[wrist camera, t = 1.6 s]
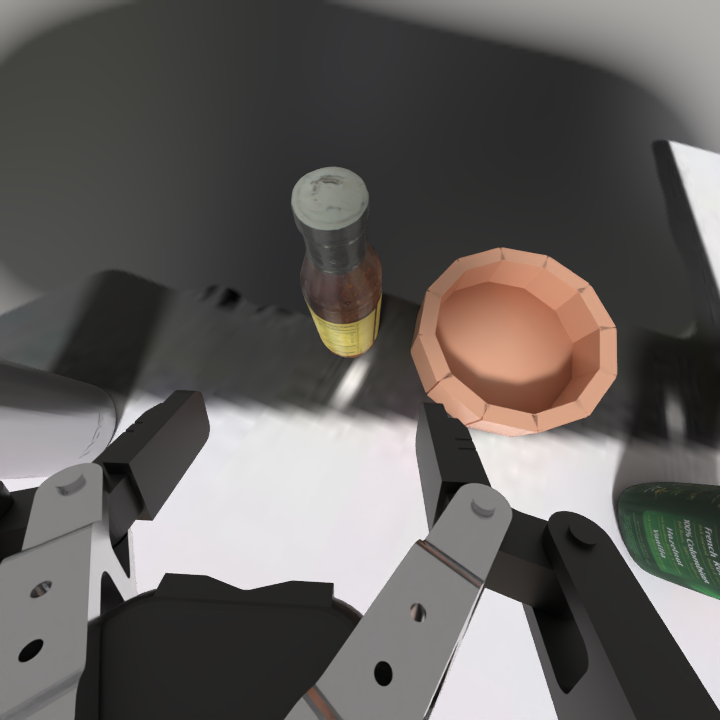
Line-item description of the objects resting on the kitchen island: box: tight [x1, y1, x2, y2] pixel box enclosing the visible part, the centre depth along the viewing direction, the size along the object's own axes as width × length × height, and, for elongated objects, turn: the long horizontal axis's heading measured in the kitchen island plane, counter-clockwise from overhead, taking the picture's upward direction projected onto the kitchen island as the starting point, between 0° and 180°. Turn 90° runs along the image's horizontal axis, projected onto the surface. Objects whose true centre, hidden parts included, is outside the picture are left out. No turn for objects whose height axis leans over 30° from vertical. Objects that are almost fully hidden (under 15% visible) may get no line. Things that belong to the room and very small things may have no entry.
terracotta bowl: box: [411, 247, 617, 437], centre depth 32 cm, size 18×18×5 cm
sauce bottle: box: [291, 167, 382, 358], centre depth 25 cm, size 6×6×20 cm
